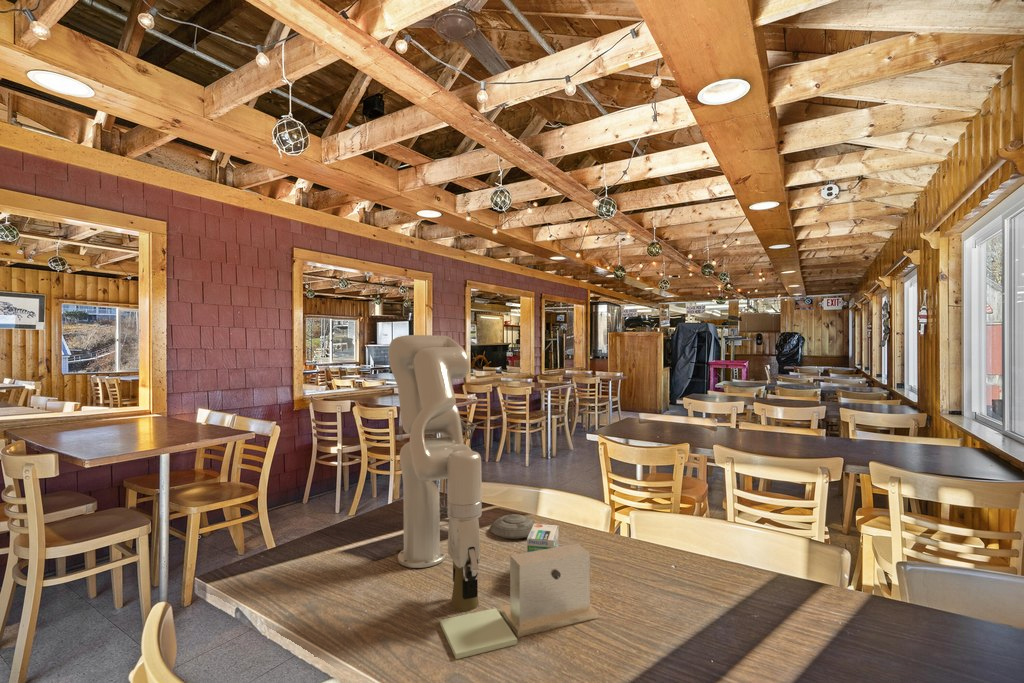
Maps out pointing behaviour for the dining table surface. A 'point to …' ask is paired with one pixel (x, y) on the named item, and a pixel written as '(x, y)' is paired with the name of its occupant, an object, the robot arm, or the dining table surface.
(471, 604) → the brown pawn
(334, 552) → the dining table surface
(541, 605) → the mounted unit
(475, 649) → the mat
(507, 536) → the flying saucer
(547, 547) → the light bulb box
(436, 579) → the dining table surface
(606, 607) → the dining table surface
